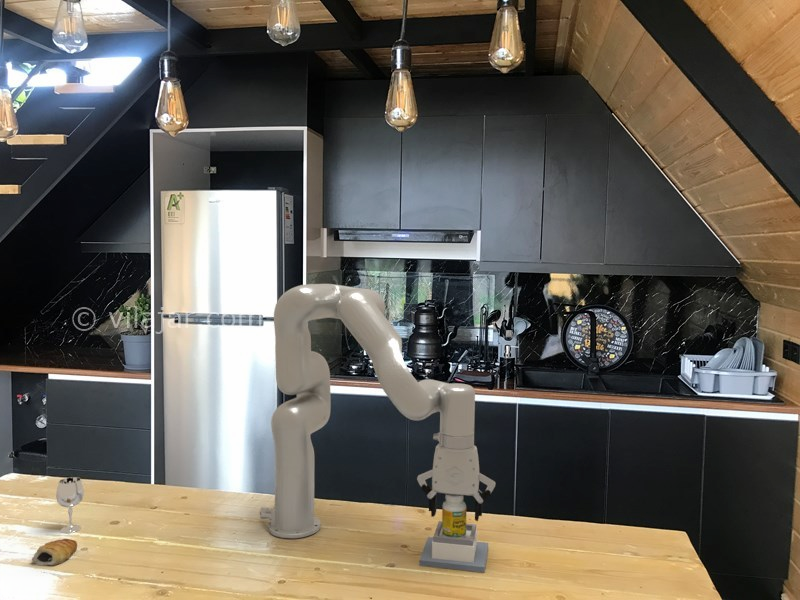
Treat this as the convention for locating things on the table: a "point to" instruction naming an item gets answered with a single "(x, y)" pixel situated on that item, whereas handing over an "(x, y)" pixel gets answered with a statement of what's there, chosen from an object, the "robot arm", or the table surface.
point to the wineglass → (70, 499)
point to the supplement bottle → (454, 516)
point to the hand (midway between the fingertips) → (455, 516)
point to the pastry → (55, 552)
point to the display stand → (455, 551)
